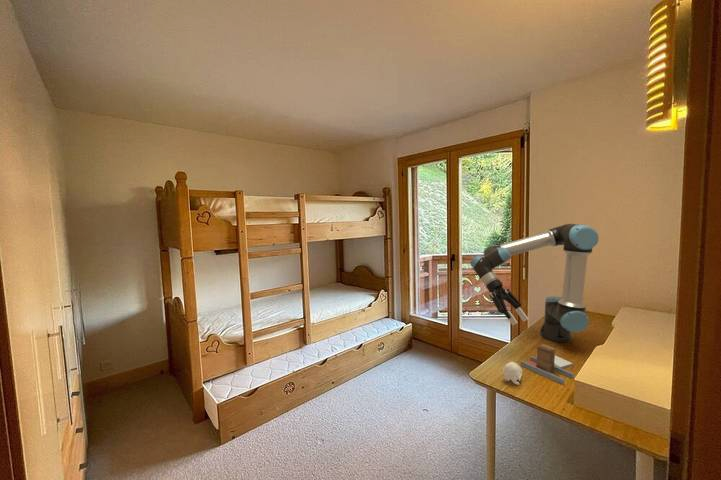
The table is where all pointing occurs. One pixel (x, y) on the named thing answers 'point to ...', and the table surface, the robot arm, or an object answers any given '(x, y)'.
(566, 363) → the external hard drive
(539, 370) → the channel
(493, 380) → the table surface
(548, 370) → the walnut block
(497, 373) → the table surface
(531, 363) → the pad
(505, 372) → the white figurine
